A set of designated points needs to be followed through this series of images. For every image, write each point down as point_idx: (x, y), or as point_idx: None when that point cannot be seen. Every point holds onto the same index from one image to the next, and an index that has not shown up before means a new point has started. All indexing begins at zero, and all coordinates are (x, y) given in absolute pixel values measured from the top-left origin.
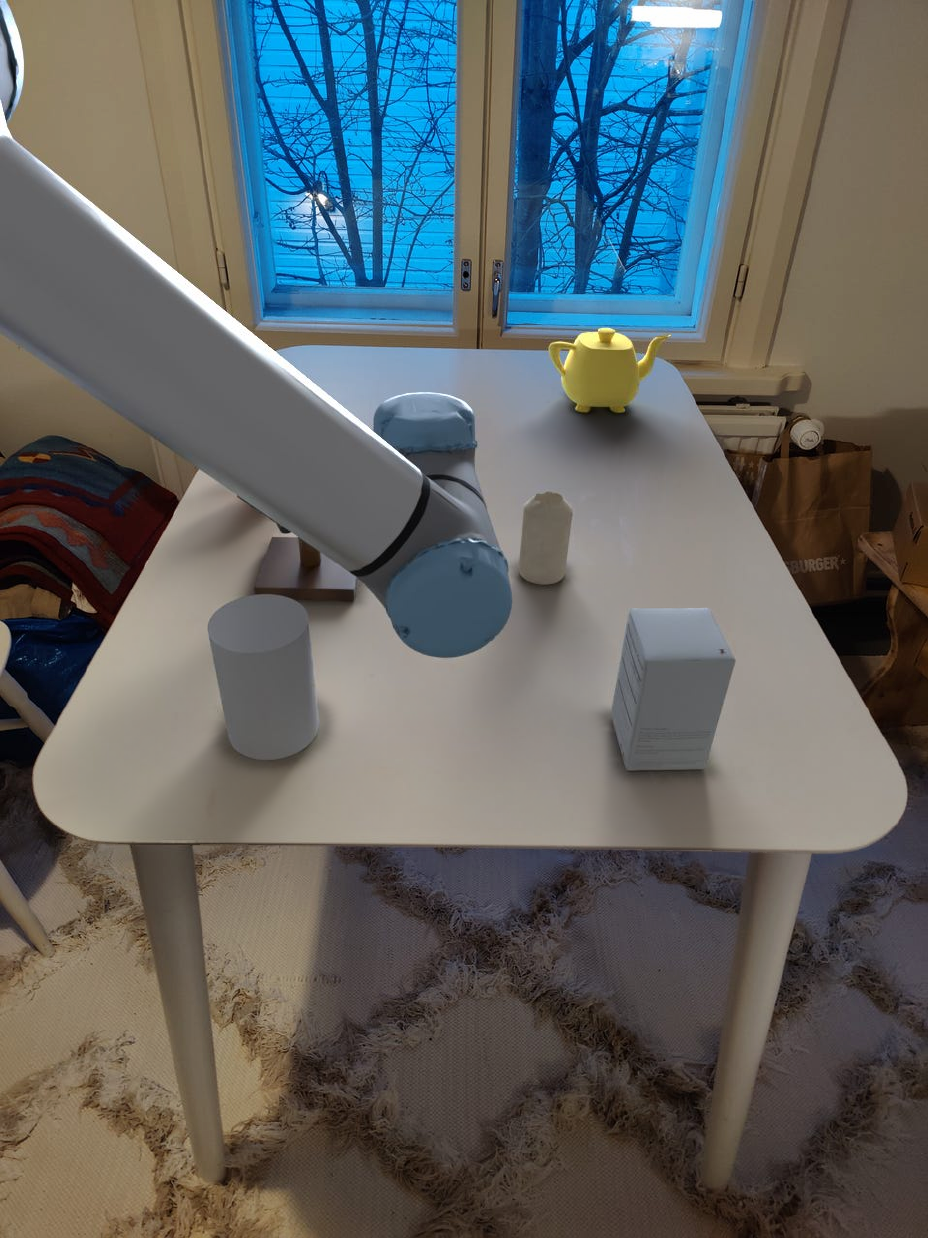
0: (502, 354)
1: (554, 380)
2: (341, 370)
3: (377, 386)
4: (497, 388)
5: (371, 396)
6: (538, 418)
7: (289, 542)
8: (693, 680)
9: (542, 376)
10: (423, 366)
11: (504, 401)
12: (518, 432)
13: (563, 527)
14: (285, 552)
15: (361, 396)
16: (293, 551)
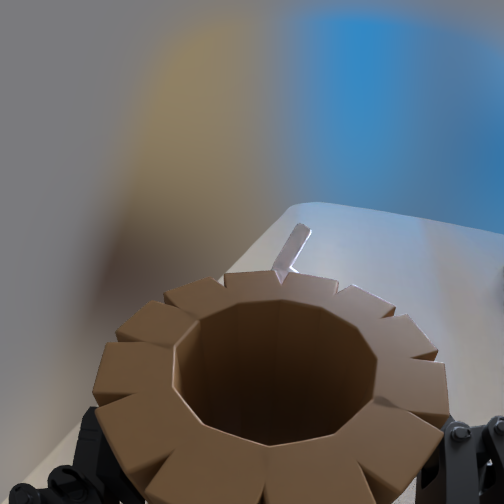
0: (449, 225)
1: (490, 250)
2: (340, 220)
3: (369, 235)
4: (458, 251)
5: (365, 243)
6: (497, 283)
7: None
8: None
9: (481, 246)
10: (400, 225)
11: (467, 263)
12: (490, 296)
13: None
14: None
15: (357, 242)
16: None
